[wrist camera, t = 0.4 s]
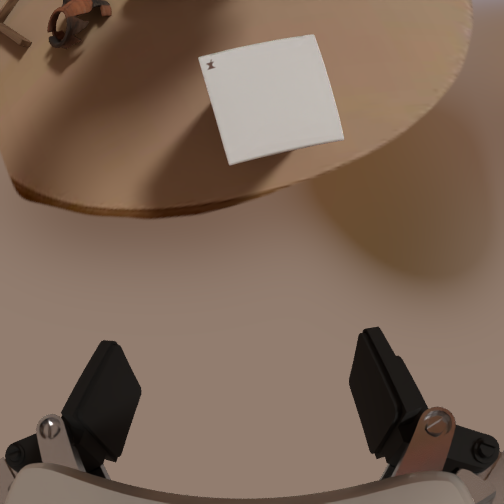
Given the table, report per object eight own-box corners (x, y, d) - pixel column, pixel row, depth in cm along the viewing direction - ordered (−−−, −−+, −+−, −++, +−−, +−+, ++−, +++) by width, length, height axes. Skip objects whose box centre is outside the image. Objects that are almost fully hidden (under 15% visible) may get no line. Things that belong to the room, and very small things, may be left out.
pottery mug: (120, 25, 26) (77, 33, 21) (88, 50, 31) (50, 63, 25) (106, -26, 19) (64, -23, 14) (75, 3, 23) (37, 11, 18)
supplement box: (235, 157, 35) (223, 170, 19) (217, 93, 31) (190, 57, 16) (305, 140, 34) (348, 141, 18) (288, 76, 31) (316, 31, 15)
